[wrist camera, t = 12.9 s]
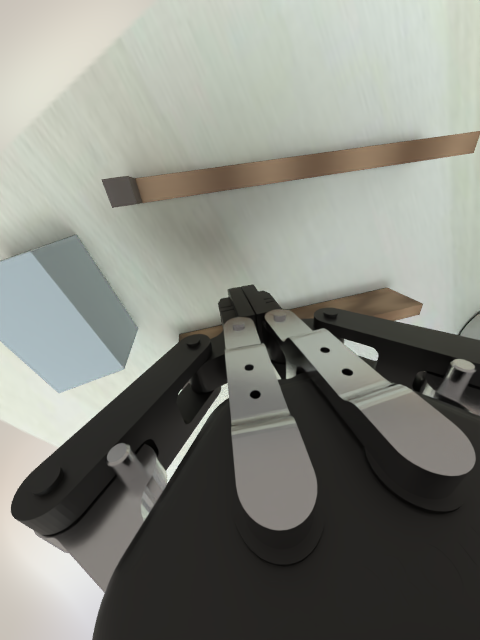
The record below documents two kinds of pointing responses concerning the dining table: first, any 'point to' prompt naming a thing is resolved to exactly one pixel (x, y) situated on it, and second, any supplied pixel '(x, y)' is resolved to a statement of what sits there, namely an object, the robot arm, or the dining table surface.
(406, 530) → the robot arm
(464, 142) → the chute
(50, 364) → the slate block
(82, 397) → the dining table surface
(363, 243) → the dining table surface
